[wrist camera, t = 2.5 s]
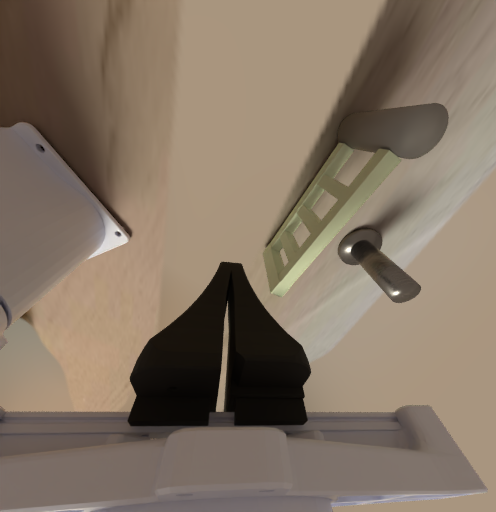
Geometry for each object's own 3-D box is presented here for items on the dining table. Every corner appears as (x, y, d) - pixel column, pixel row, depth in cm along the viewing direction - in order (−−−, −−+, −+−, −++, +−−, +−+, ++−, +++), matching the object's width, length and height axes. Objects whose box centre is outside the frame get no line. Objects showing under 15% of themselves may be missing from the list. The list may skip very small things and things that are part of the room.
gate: (352, 106, 12) (430, 91, 7) (373, 123, 13) (458, 121, 8) (257, 249, 18) (265, 295, 13) (275, 257, 19) (288, 303, 14)
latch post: (335, 236, 18) (376, 282, 13) (379, 222, 17) (441, 264, 12) (339, 266, 20) (376, 316, 15) (378, 254, 20) (431, 302, 14)
